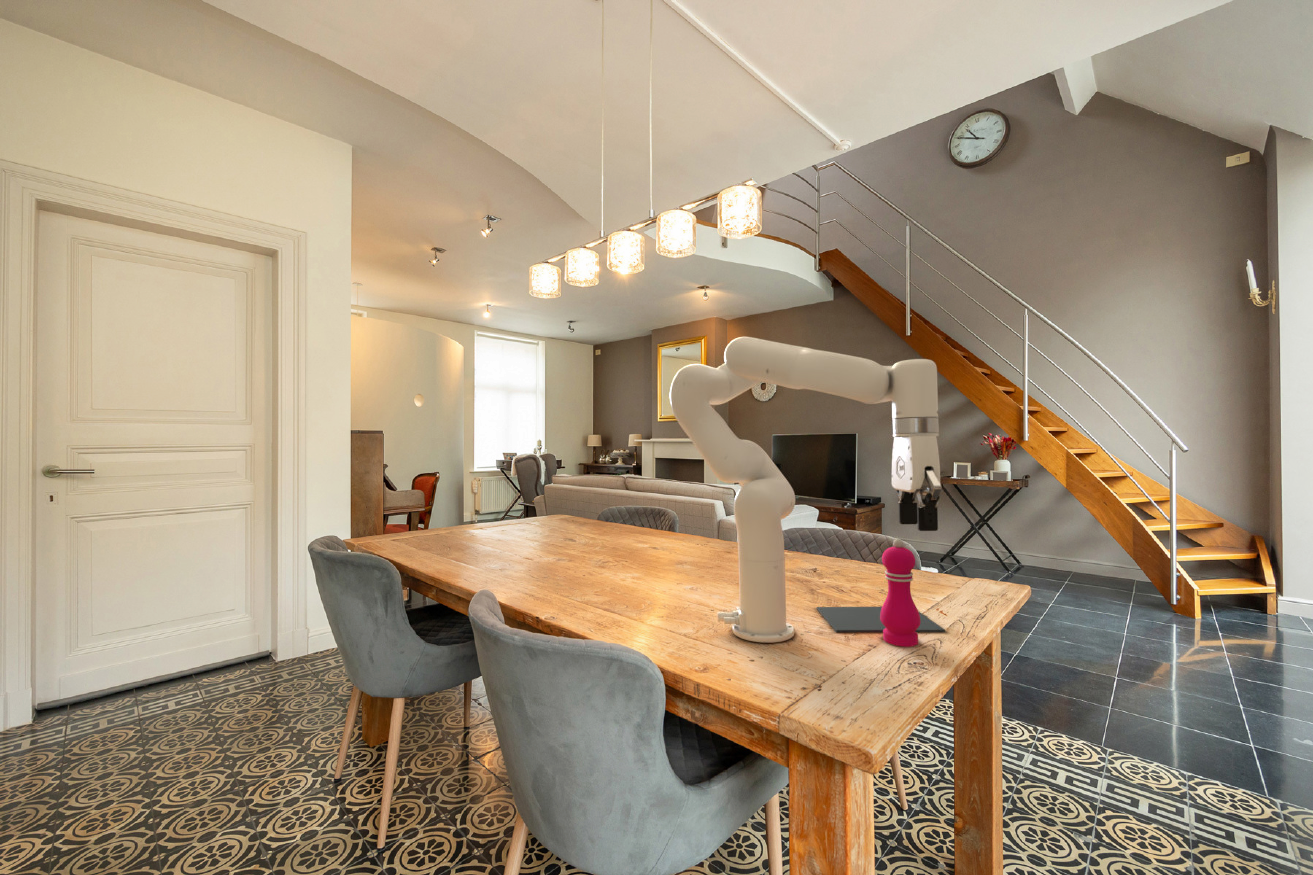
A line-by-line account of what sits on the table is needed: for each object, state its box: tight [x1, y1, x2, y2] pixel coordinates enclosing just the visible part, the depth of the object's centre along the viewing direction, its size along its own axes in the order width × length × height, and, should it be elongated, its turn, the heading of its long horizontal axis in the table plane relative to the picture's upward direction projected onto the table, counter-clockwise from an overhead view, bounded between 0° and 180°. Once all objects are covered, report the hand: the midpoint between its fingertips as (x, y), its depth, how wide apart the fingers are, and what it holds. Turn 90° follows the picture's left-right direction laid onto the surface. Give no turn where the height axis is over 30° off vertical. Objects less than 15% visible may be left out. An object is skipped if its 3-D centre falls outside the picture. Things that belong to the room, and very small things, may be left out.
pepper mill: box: [880, 538, 921, 648], centre depth 105 cm, size 7×7×20 cm
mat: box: [816, 606, 946, 633], centre depth 118 cm, size 22×16×1 cm
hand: (917, 526), depth 96 cm, fingers open, 7 cm apart
